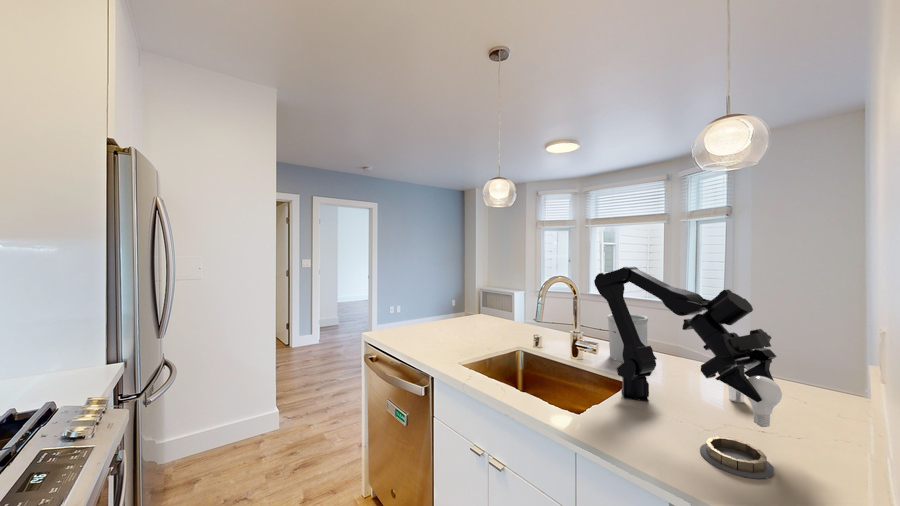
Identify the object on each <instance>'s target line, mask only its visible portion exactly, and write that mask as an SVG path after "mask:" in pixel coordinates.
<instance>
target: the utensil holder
mask: <svg viewBox="0 0 900 506" xmlns="http://www.w3.org/2000/svg"><path fill="white" fill-rule="evenodd" d="M630 315H631V318H632V320H633V323H634V326H635V328H636V331H637V333H638V336H639V338H640V341H641V342H642V343H643V344H644V345H645V346H648V322H649V317H648V316H646V315H644V314H643V315H642V314H636V313H630ZM607 320H608V321H607V322H608V343H609V346H608V347H609V357H610V359H612V360H614V361H616V362H619V363H624V360H623V356H622V354H623V347H624V345H623V342H622V339H621V336H620V334H619V331H618V328H617V326H616V323H615V320H614V318H613V315H612V313H610V314H607ZM611 331H616V333H614V332H611Z"/></svg>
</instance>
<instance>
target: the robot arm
mask: <svg viewBox="0 0 900 506" xmlns="http://www.w3.org/2000/svg"><path fill="white" fill-rule="evenodd" d="M627 283H631V284H633V285H634V286H636V287H638V288H640V289H641V290H643V291H645V292H647V293H649V294H650V295H652V296H654V297H656V298H658V300H660V301H661V302H662V303H663V305H664V307H665V308H667V309H668V310H670V311H671V312H672V313H674V315H676V316H679V317H680V316H681V317H685V316H691V315H692V317H691V318H686V319H685V318H684V319H683V324H682V330H683V331H688V330H690V331H691V330H693V331H694V332H695V333H696V335H698V337H699V338H700V339H701V341H702V342H703V343H704V345H703V347H702V348H703V349H704V350H705V351H709V350H710V351H711V352H712V354H713V355H714V357H712V358H710V359H708V360H707V361H706V362H704V363H703V364H701V365H700V372H701V373H702V375H703V376H704V377H705V378H706V379H711V378H715V380H716V381H720V382H721V383H724V384H726V385H727V386H728V385H729V386H731V387H733V388H734V389H736V390H738V391H739V392H741V393H743V394H744V396H745V397H746V396H748V397H749V398H751V399H753V400H754V401H756V402H760V401H762V399H761V397H760V396H759V394H758V393H757V391H756V390H755V388H754V387H753V386H752V384H751V383H750V382H749V380H748V378H750V377H752V376H764V377H767V378H769V379H771V380H773V381H774V382H775V380H774V378H773V376H772V373H771V371H770V368H771V364H772V363H773V359H776V358H777V355H776V354H775V353H774V352H773V351H772V350H771V349H770V348H771V347H772V344H771V340H772V335H769V334H768V333H767V331H764V330H763V329H762V328H757V329H752V330H750V331H749V334H746V335H742V336H739V335H738V334H737V333H736V332H729V331H728V330H727V329H726V327H725V326H724V325H726V326H733V325H734V324H735V323H737V322H738V321H740V320H742V319H743V318H744V317H746V316H747V315H749V314H750V313H752V312H753V311H754V308H753V305H752V304H751V303H750V302H749V301H748V300H747V299H746V298H743V297H742V296H740V295H739V294H737V293H735V292H733V291H732V290H731V289H723V290H721V291H720V292H719V293H718V294H717V295H716V296H715V297H714V298H713V299H706V298H704V297H702V295H700V294H699V293H696V292H694V291H690V290H687V289H683V288H679V287H674V286H671V285H670V284H667V283H666V282H664V281H662V280H660V279H657V278H656V277H654V276H652V275H650V274H648V273H647V272H644V271H642V270H640V269H639V268H638V267H636V266H623V267H621V268H618V269H616V270H612V271H608V272H600V273H598V274H597V275H596V276H595V278H594V281H593V284H594V286H595V288H596V290H597V291H598V293H599V295H601V297H603V298H604V300H606V303H607V304H608V307H609V309H610V312H611V314H612V315H613V318H614V320H615V323H616V326H617V328H618V331H619V334H620V336H621V339H622V342H623V345H624V347H623V354H622V356H623V360H624V362H622V363H621V364H620V365H619V366H617V367H616V372H617V376H618V377H621V381H622V382H621V383H622V384H621V385H622V387H621V394H622V397H623V399H628V400H636V401H643V402H648V401H649V396H650V384H649V382H648V379H647V377H650V376H651V374H652V372H654V370H655V369H656V367H657V361H656V360H657V357H656V356H655V354H654V351H653V348H652V346H651V345H647V346H645V345H644V344H643V343H642V342H641V341H640V338H639V336H638V333H637V331H636V328H635V326H634V323H633V320H632V318H631V315H630V314H631V313H630V311H629V308H628V305H627V303H626V301H625V298H624V295H625V293H624V292H625V284H627ZM703 311H704V312H703ZM702 312H703V313H702ZM693 315H694V316H693ZM745 370H746V371H745ZM717 374H718V376H717ZM745 374H746V375H747V376H745Z"/></svg>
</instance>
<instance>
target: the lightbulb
mask: <svg viewBox="0 0 900 506" xmlns="http://www.w3.org/2000/svg"><path fill="white" fill-rule="evenodd" d="M747 379H748V380H749V382H750V383H751V384H752V386H753V387H754V388H755V390H756V391H757V393H758V394H759V396H760V397H761V399H762V401H760V402H756V401H754V400H753V399H751V398H749V397H748V396H746V395H745V397H746V398H747V400H748V401H749V403H750V406H751V409H752V411H753V423H755V424H756V425H757V426H759V427H761V428H768V427H771V415H772V414H773V410H774V408H775V407H776V406H777V405H779V403H780V402H781V400H782V398H783V393H782V392H783V391H782V389H781V387H780V386H779V384H778V383H777V382H775V380H774V379H773V380H774V381H773V380H771V379H769V378H767V377H764V376H752V377H750V378H749V377H747Z"/></svg>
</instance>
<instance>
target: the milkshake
mask: <svg viewBox="0 0 900 506" xmlns="http://www.w3.org/2000/svg"><path fill="white" fill-rule="evenodd" d="M745 376H746V377H748V376H747V375H746V374H745ZM727 387H728V396H729V397H728V398H729V400H730V401H731V402H734V403H740V404H741V403H742V404H743V403H744V402H745V401H744V400H745V395H744V394H743V393H741V392H739V391H738V390H736V389H734V388H733V387H731V386H729V385H727Z"/></svg>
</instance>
